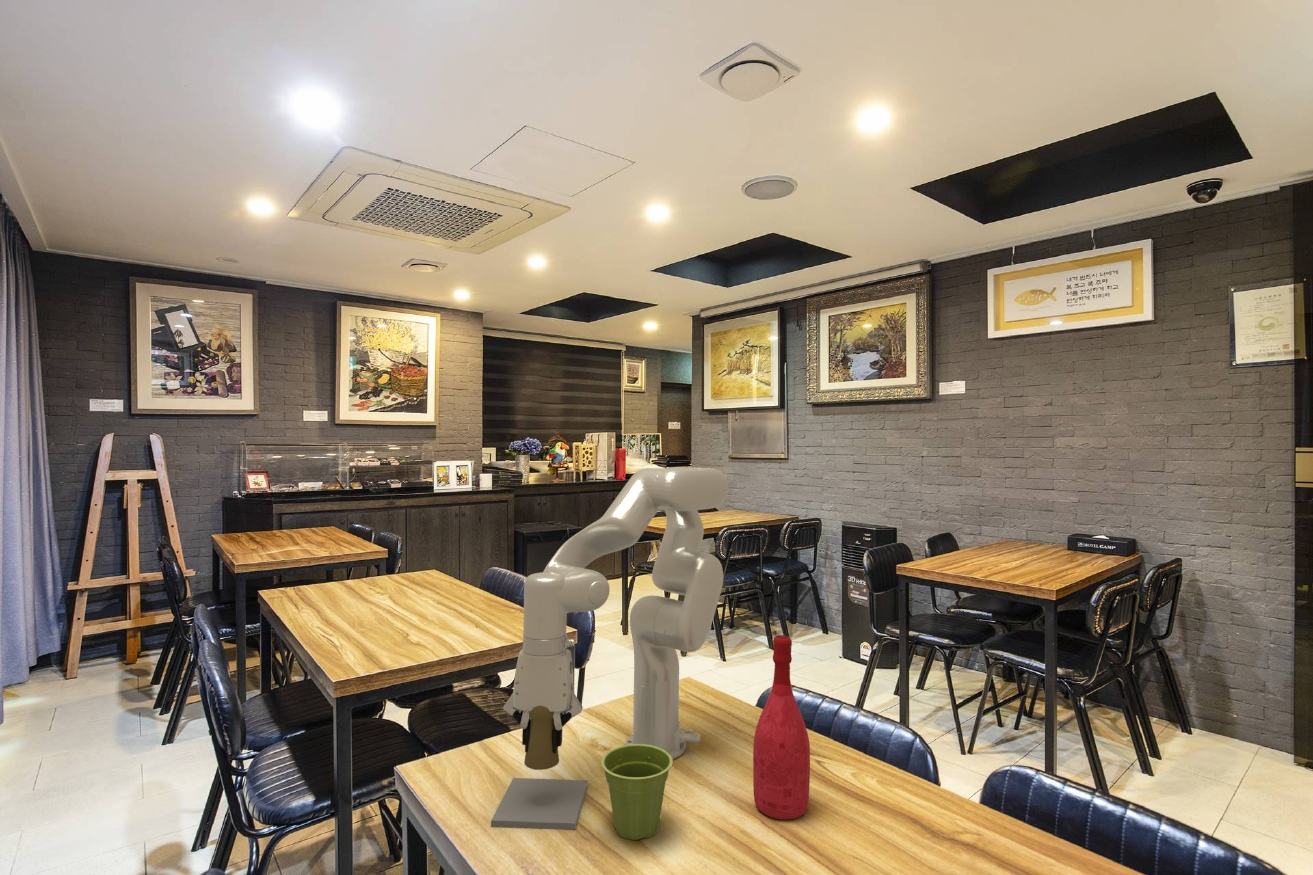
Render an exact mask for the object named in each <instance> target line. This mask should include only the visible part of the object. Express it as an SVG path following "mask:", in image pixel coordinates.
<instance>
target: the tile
mask: <svg viewBox="0 0 1313 875" xmlns="http://www.w3.org/2000/svg"><path fill="white" fill-rule="evenodd" d="M588 781H589V780H587V779H586V780H585V779H558V778H529V777H526V778H525V777H513V778H512V779H511V781H510V783H509V786H508V787H507V789H506V791H505V793H504V795H503V797H502V799H501V801H500V802H499V804H498V806H497V808H496V810H495V812H494V814H493V816H492V818H491V820H490V828H491V827H493V828H494V827H495V828H518V829H519V828H520V829H521V828H522V829H547V830H549V829H550V830H572V831H573V830H576V827H577V825H578V821H579V818H580V817H579V816H580V814H581V810H582V807H583V803H584V800H585V796H586V793H587V790H588V784H589V783H588Z"/></svg>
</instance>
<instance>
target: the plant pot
mask: <svg viewBox="0 0 1313 875" xmlns="http://www.w3.org/2000/svg"><path fill="white" fill-rule="evenodd" d="M600 760H601V761H600V764H601V767H602V769H603V771H604V773H605V778H606V782H607V784H608V790H609V791H608V792H609V797H610V803H611V810H612V815H613V823H614V828H615V831H616V832H617V834H618V835H619V837H620V836H621V837H623V838H625V839H627V840H632V841H638V840H641V839H643V838H648V839H649V838H651V837H653V836H654V835H656V833H657V831H659V827H660V826H659V825H660V820H661V815H662V807H663V801H664V795H665V794H664V793H665V787H666V782H667V780H668V777H669V776H668V774H669V771H670V769H671V768H672V765H673V762H674V761H673V760H674V759H672V757H671V755H670V754H669V753H668V752H667V751H665V750H663V749H661V748H659V747H656V746H652V745H646V744H630V745H626V744H623V745H620V746H616V747H614V748H612V749H610V750H608V751H607V752H606V753H604V755H603V756H602V757H601V759H600Z"/></svg>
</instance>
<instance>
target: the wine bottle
mask: <svg viewBox="0 0 1313 875" xmlns="http://www.w3.org/2000/svg"><path fill="white" fill-rule="evenodd" d="M772 643H773V644H772V645H773V649H772V650H773V653H772V654H773V655H772V662H774V672H773V681H772V687H771V690H770V694H769V696H768V698H767V701H766V703H765V705H764V707H763V709H762V711H761V713H760V716H759V719H758V721H757V724H756V727H755V730H754V731H755V732H754V735H753V736H754V737H753V746H752V747H753V751H752V752H753V754H752V766H753V767H752V768H753V769H752V771H753V772H752V778H753V780H752V781H753V800H754V804H755V806H756V808H757V809H758V810H759V811H760V812H762V814H764V815H765V816H768V817H771V818H772V819H773V818H774V819H779V820H792V819H793V820H794V819H797V818H800V817H801V816H803V815H805V813H806V812H807V810H808V809H809V808H808V807H809V800H810V784H811V782H810V777H811V774H810V773H811V747H810V746H811V745H810V738H809V735H808V730H807V726H806V722H805V721H804V720H805V719H804V718H803V715H802V713H801V711H800V708H799V706H798V703H797V701H796V698H795V696H794V692H793V691H794V690H793V688H792V683H791V663H792V660H793V658H792V657H793V656H792V645H793V640H792V638H791V637H790V636H788V635H785V634H779V635H775V636H774V637H773V640H772Z"/></svg>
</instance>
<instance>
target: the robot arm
mask: <svg viewBox="0 0 1313 875" xmlns="http://www.w3.org/2000/svg"><path fill="white" fill-rule="evenodd" d="M728 494H729V482H728V479H727V477H726V475H725V474H724V473H723V472H722V471H721V470H720V469H718V468H713V467H693V466H692V467H690V466H675V467H674V466H673V467H668V468H662V467H661V468H655V467H650V468H649V467H647V468H641V469H639V470H637V471H636V472H635V473H633V475H631V477H630V478H629V479H628V481H627V482H626V483H625V485H624V486H623V488H621V491H620V492H619V493H618V494H617V496H616V497H615V499H614V500H613V502H612V503H611V504H610V506H609V507H608V508H607V510H606V511H605V513H603V515H602V516H601V517H600V518H599V519H598V520H596V521H594V522H592V523H590V524H589V525H587V526H586V527H585V528H583V529H582V530H580V531H579V532H576V534H574V535H572V536H571V537H569V538H568V539H567V540H566V541H565V542H564V543H562V545H561V546H560V547H559V548H558V550H557V551H556V552H555V554H554V555H553V557H552V558H551V559H550V560H549V562H548V563H547V564H546V566H545V568H544V569H543V571H542V572H537V573H536V572H535V573H532V574H530V575H528V576H527V577H526V579H525V580H524V587H523V588H524V589H523V590H524V592H523V593H524V594H523V599H524V600H523V625H522V626H523V628H522V629H523V633H522V648H521V649H520V650H519V654H518V656H517V657H518V658H517V661H516V667H515V673H514V674H515V675H514V682H513V691H512V693H511V695H510V696H509V698H508V700H507V701H506V702H505V703H504V705H503V707H502V709H503V711H505V712H507V714H509V715H510V716H512V718H513V719H514V720H515V721H516V722H517V723H518V724H519V727H520V729H522V732H521V733H522V737H521V738H522V739H521V740H522V741H521V743H522V744H521V745H522V746H524V753H526V752H528V745H529V738H530V722H531V718H530V716H529V711H532V709H533V708H534V707H536V706H544V707H546V708H548V709H549V711H550V712H554V715H553V718H554V729H553V730H552V747H553V751H552V752H553V753H556V750H557V747H558V748H559V747H562V744H563V727H564V726H565V725H566V724H567V723H569V722H570V720H572V719H573V718H575V717H576V716H578V715H580V714H581V713H582V711H583V708H584V706H583V705H582V704H581V702H580V700H579V699H578V696H577V695H576V694H575V692H574V691H575V690H574V687H575V686H574V670H573V666H574V665H573V660H572V659H573V658H572V653H571V652H572V651H571V650H570V649H568V648H571V647H575V638H570V637H569V635H568V633H567V618H568V617H567V616H568V615H567V614H569V613H588V612H589V613H590V612H593V611H595V610H598V609H600V608H601V607H602V606H604V605H605V603H607V600H608V598H609V595H610V584H609V581H608V579H607V578H606V577H605V575H603V574H602V573H600V572H598V571H596V570H593V569H589V568H586V567H587V566H588V565H590V563H591V562H594V560H597V559H598V558H600V557H602V556H605V555H609V554H611V553H612V554H613V553H615V552H619V551H623V550H625V549H627V548H629V547H632V546H634V545H635V544H637V543H638V541H639V540H640V538H641V537H642V535H643V534H644V532H645V530H646V529H647V527H648V526H649V524H650V523H651V522H652V520H653V518H654V517H655V516H656V515H657V513H658V512H659V511H664V512H665V515H666V524H665V529H664V534H663V536H662V540H661V542H660V546H659V549H658V552H657V555H656V558H655V560H654V564H653V567H652V568H653V569H652V572H651V579H652V582H653V584H654V586H655V587H656V588H657V589H659V590H661V591H664V592H667V593H671V594H676V595H679V596H684V598H683V600H678V599H674V598H669V597H666V596H665V597H664V596H660V595H646V596H642V597H640V598H639V599H638V600H637V601H636V602H634V604H633V606H632V607H631V610H630V614H629V628H630V633H631V638H632V647H633V667H634V668H633V713H632V714H633V715H632V716H633V720H632V721H633V725H632V726H633V728H632V729H633V731H632V732H633V734H631V735H629V737H627V738H626V740H625V745H630V744H646V745H652V746H656V747H659V748H661V749H663V750H665V751H667V752H668V753H669V754H670V755H671V757H672V759H673V760H675V759H677V758H678V757H681V756H682V755H683V754H684V753H685V751H686V745H687V744H686V743H691V744H701V733H700V732H698V733H697V732H695V729H692V728H691V729H690V728H689V729H684V728H683V727H681V721H680V720H679V718H680V717H679V715H680V712H679V710H680V705H679V704H680V661H679V660H680V659H679V657H678V654H677V653H678V652H677V651H682V652H685V653H692V652H696V651H699V650H700V649H701V648H702V647H703V645H704V644H705V643H706V641H707V639H708V636H709V634H710V631H711V627H712V623H713V620H714V619H715V618H714V617H715V614H716V610H717V607H718V603H719V599H720V596H721V594H722V589H723V584H724V571H723V565H722V563H721V561H720V560H719V558H718V557H716V556H715V555H714V554H712V553H708V552H704V551H701V545H702V542H703V538H704V532H705V531H704V530H705V528H704V524H703V520H702V518H701V515H700V513H699V511H702V510H710V509H716V508H717V507H720V506H721V505H722V504H723V503H724V501H725V500H726V498H727V496H728ZM676 650H677V651H676ZM570 706H571V708H570Z"/></svg>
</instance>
